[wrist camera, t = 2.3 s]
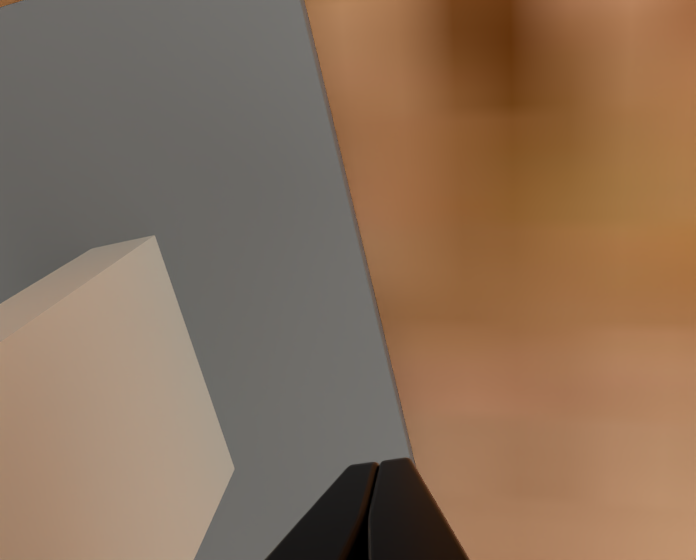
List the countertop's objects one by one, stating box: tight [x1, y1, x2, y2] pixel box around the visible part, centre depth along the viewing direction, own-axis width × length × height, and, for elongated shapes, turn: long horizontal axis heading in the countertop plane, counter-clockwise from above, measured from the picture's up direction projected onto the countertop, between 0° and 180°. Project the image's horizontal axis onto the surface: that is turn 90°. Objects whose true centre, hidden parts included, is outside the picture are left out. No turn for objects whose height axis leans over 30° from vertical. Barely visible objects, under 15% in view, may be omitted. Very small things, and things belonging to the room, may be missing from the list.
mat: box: [0, 0, 416, 560], centre depth 16 cm, size 18×14×1 cm
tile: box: [0, 235, 235, 560], centre depth 12 cm, size 6×2×7 cm, turn 13°
